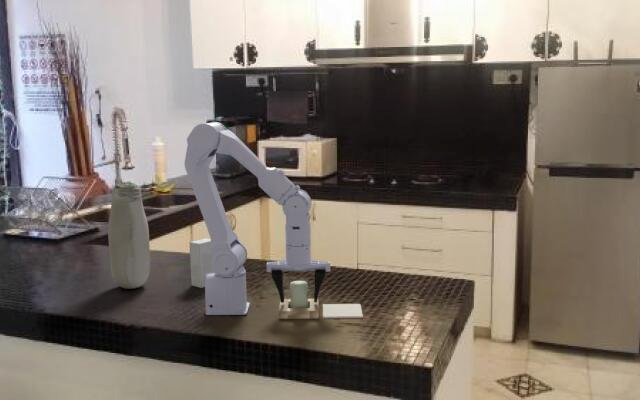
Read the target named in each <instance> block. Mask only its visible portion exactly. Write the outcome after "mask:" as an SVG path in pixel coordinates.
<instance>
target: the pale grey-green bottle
mask: <svg viewBox="0 0 640 400" xmlns="http://www.w3.org/2000/svg"><path fill="white" fill-rule="evenodd" d="M110 196H111V198H110V199H111V200H110V201H111V202H110V212H109V218H108V224H107V225H108V228H107V234H108V235H107V237H108V248H109V251H108V252H109V263H110V272H111V276H112V279H113V282H115V283H116V285H118V286H119V287H120V288H123V289H126V290H129V289H130V290H131V289H137V288H141V287H142V286H143V285H145V283H146V282H147V280H148V278H149V276H150V273H151V258H150V257H151V256H150V255H151V254H150V230H149V223H148V218H147V215H146V212H145V209H144V208H145V207H144V204H143V197H142V192H141V189H140V188H139V186H138V185H137V184H135V183H134V182H131V181H123V182H120V183H117V184H115V186H114V187H113V188H112V191H111V195H110Z"/></svg>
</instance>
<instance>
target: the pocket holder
mask: <svg viewBox="0 0 640 400" xmlns="http://www.w3.org/2000/svg"><path fill="white" fill-rule="evenodd" d="M319 301H320V300H319V298H317V302H314V298H308V308H291V305H290V298H284V303H281V300H280V302H279V306H278V307H279V308H278V319H279V320H280V319H281V320H288V319H289V320H290V319H293V320H296V319H298V320H299V319H301V320H303V319H319V318H320V317H319V307H320V306H319Z"/></svg>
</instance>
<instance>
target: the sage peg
mask: <svg viewBox="0 0 640 400" xmlns="http://www.w3.org/2000/svg"><path fill="white" fill-rule="evenodd" d="M308 287H309V286H308V282H307V281H305V280H294V281H291V282H290V283H289V289H290V290H289V292H290V293H289V295H290V298H289V299H290V305H291V308H308V299H309V298H308V297H309V296H308V293H309V292H308V291H309V290H308Z"/></svg>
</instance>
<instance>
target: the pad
mask: <svg viewBox="0 0 640 400" xmlns="http://www.w3.org/2000/svg"><path fill="white" fill-rule="evenodd" d="M363 318H364V316H363V310H362V305H361V303H323V304H322V319H363Z"/></svg>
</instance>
